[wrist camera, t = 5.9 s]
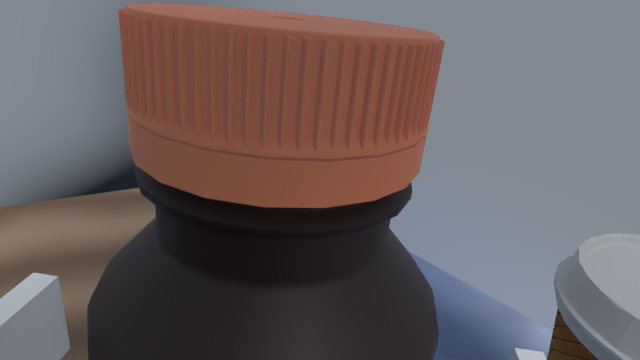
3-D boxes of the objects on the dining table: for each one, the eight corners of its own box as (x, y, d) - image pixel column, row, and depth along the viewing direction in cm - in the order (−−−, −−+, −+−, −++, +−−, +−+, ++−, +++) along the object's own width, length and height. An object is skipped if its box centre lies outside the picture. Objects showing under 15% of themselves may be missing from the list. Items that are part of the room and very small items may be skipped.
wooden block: (272, 421, 22) (279, 331, 20) (14, 548, 16) (-19, 441, 14) (173, 249, 36) (170, 183, 33) (12, 284, 30) (-5, 207, 28)
